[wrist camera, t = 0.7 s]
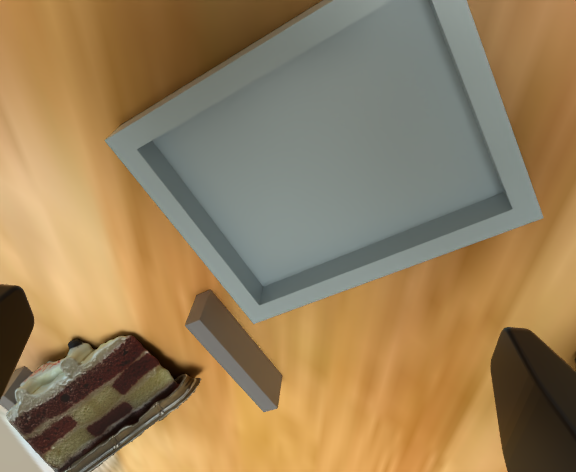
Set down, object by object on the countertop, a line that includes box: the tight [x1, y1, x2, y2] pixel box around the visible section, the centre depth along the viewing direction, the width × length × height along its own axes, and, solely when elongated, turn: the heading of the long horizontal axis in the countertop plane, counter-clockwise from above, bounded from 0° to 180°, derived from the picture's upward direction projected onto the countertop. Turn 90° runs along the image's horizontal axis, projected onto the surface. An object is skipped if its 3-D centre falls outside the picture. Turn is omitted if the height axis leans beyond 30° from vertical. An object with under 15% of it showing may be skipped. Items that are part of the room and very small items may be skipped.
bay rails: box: [0, 289, 282, 412], centre depth 31 cm, size 8×17×3 cm, turn 120°
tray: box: [105, 0, 543, 324], centre depth 22 cm, size 12×15×2 cm
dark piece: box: [6, 335, 201, 472], centre depth 32 cm, size 10×7×12 cm
